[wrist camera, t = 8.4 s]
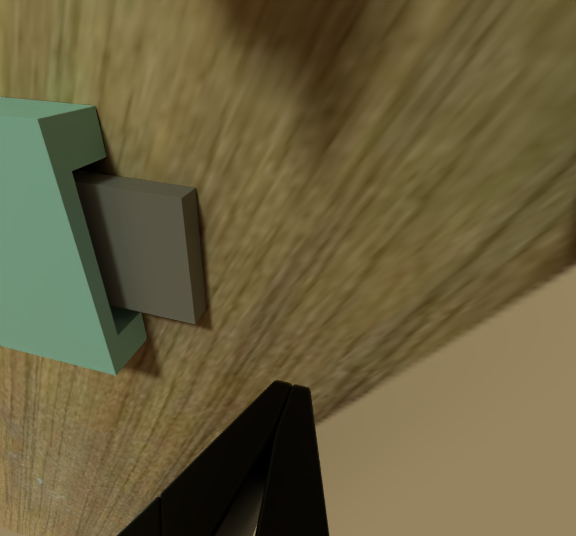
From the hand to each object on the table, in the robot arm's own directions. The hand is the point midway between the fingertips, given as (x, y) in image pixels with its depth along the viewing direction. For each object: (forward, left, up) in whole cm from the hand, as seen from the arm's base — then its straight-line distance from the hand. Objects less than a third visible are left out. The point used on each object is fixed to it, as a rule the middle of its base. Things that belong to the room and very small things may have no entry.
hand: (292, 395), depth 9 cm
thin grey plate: (+13, +4, -11) cm, 18 cm away
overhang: (+18, +4, -11) cm, 21 cm away
